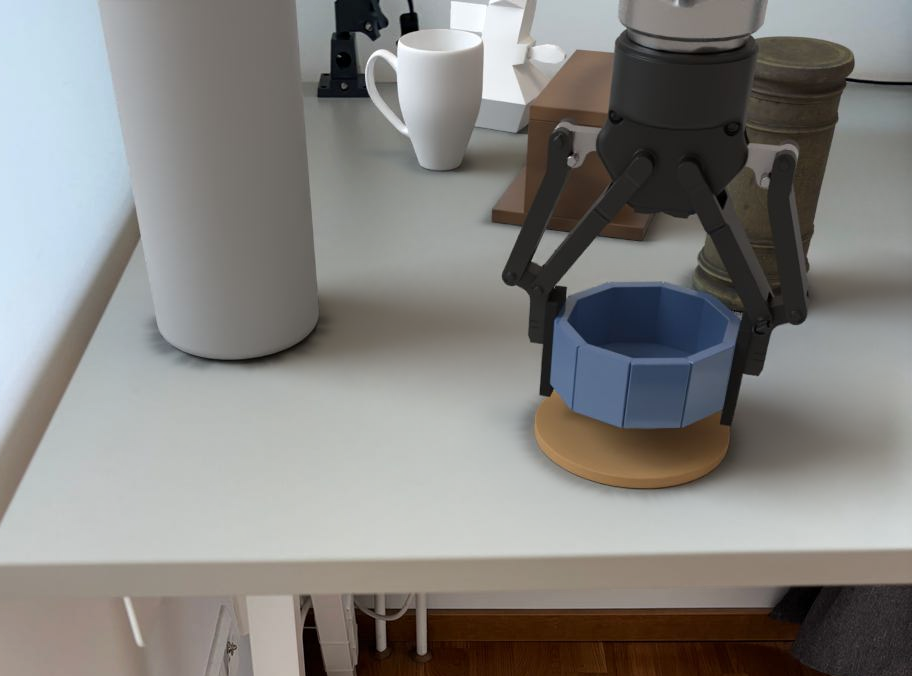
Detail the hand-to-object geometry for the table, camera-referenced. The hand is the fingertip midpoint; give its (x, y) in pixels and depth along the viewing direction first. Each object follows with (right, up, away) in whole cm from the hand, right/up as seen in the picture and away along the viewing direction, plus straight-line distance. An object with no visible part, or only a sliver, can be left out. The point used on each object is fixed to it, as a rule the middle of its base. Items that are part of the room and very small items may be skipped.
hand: (636, 400), depth 72 cm
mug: (-14, +33, +40) cm, 54 cm away
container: (+12, +13, +18) cm, 26 cm away
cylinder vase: (-29, +9, +13) cm, 33 cm away
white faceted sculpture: (-6, +42, +50) cm, 65 cm away
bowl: (0, +1, -1) cm, 1 cm away
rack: (+1, +27, +33) cm, 43 cm away
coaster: (0, -2, +2) cm, 2 cm away
